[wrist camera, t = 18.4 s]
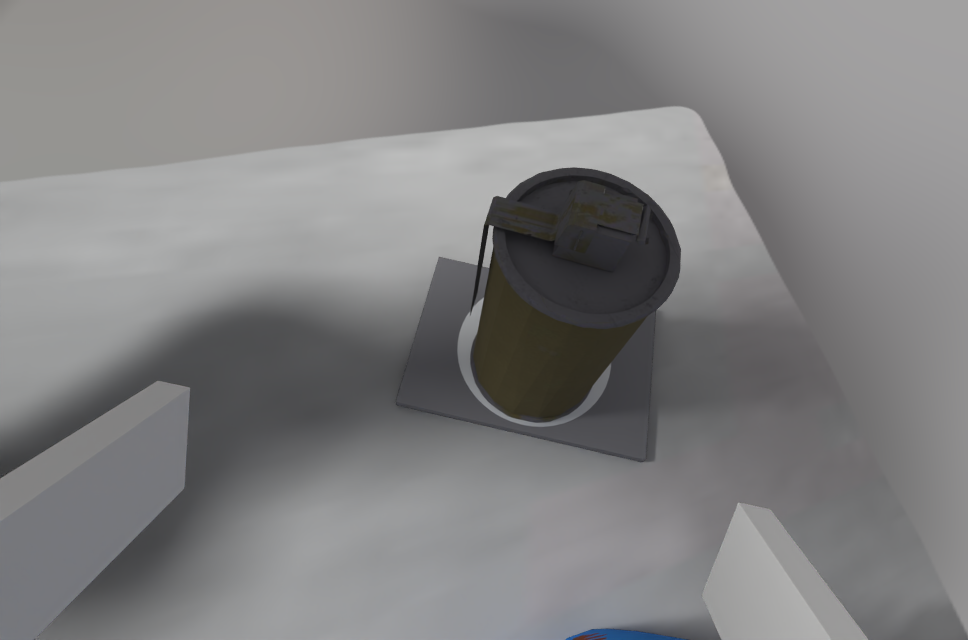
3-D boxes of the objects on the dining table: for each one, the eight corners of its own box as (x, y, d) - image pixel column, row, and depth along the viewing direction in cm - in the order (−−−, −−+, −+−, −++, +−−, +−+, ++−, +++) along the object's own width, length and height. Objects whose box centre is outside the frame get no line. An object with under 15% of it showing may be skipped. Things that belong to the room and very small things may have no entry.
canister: (603, 325, 47) (710, 161, 29) (583, 439, 42) (696, 325, 25) (483, 291, 47) (517, 110, 30) (449, 401, 43) (465, 261, 25)
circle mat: (396, 404, 43) (395, 401, 42) (438, 261, 50) (439, 256, 49) (642, 462, 43) (646, 459, 42) (652, 310, 49) (656, 306, 49)
